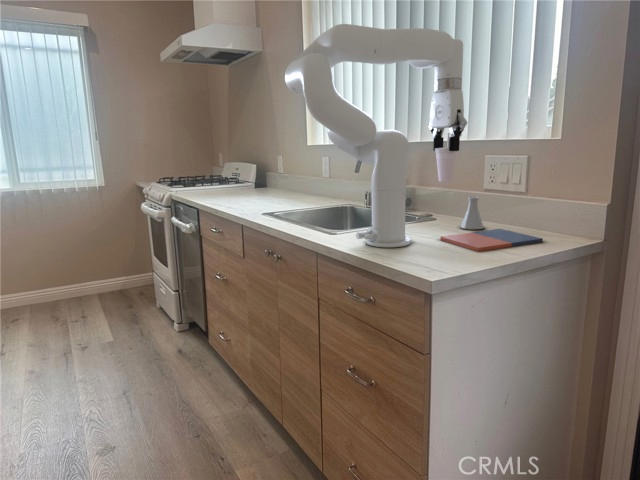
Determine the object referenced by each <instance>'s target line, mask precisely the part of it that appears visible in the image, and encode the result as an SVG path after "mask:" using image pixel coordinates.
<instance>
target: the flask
mask: <svg viewBox="0 0 640 480" xmlns="http://www.w3.org/2000/svg"><path fill="white" fill-rule="evenodd" d="M467 199H468V206H467V210H466V212H465V214H464V217H463V220H462V222H461V225H460V228H462V229H463V230H482V229H484V223H483V221H482V217H481V214H480V211H479V207H478V200H479V197H478V196H468V197H467Z"/></svg>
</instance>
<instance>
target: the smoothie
mask: <svg viewBox="0 0 640 480" xmlns="http://www.w3.org/2000/svg"><path fill="white" fill-rule="evenodd" d="M450 135H451V133H450V132H447V138H446V139H447V140H446V147H443V148H436V149H435V151H434V153H435V158H436V167H437V179H438V182H440V183H451V182H452V181H453V176H454V175H453V174H454V169H455V162H456V155H457V152H458V151H449V138H450Z"/></svg>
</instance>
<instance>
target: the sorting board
mask: <svg viewBox="0 0 640 480" xmlns="http://www.w3.org/2000/svg"><path fill="white" fill-rule="evenodd" d="M440 241H443V242H446V243H449V244H452V245H456V246H460V247H462V248H466V249H468V250H472V251H476V252H485V251H493V250H499V249H504V248H511V247H518V246H524V245H532V244H537V243H543V241H544V238H543V237H539V236H534V235H529V234H525V233H521V232H516V231H511V230H508V229H503V228H494V229H488V230H480V231H479V230H478V231H472V232H465V233H456V234H449V235H441V236H440Z"/></svg>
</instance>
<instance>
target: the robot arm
mask: <svg viewBox="0 0 640 480" xmlns="http://www.w3.org/2000/svg"><path fill="white" fill-rule="evenodd" d="M342 62H348V63H349V62H350V63H360V64H372V65H378V66H379V65H381V66H383V65H391V64H396V63H397V64H398V63H401V62H407V63H408V64H409V65H410V66H411V67H412V68H414V69H428V68H429V69H430V68H434V91H433V93H432V96H431V101H430V109H429V110H430V111H429V123H428V128H429V130H430V133H431V134H432V135H431V136H432V138H433V145H432V146H433V147H432V150H433V152H435V149H436V148H444V136H443V134H444V131H445V129H447V128H449V133H450V136H449V151H457V152H459V151H460V139H461V137H462V134H463V132H464V129H465V128H466V126H467V125H468V121H467V119H466V118H465V117H464V116H465V105H464V103H465V102H464V93H463V89H462V88H463V65H464V42H463V41H462V40H461V39H459V38H453V36H452V35H451V34H449V33H448V32H447V31H443V30H439V29H431V28H417V27H416V28H413V27H412V28H379V27H371V26H364V25H357V24H349V23H339V24H336V25H333V26H331V27H330V28H328V29H327V30H325V31H324V32H322V33H321V34H320V35H318V36H317V37H316V38H315V39H314V40H313V41H312V42H311V43H310V44H309V45H308V46H307V47H306V48H305V49H304V50H303V51H302V52H301V53H300V54H299V55H297V56H296V58H294V59H293V60H292V61H291V62H290V63H289V65H288V66H287V68H286V69H285V71H284V72H285V73H284V81H285V85H286V87H287V88H288V89H289V90H290V92H292V93H294V94H296V95H303V97H304V101H305V104H306V107H307V109H308V112H309V114H310V115H311V116H312V118H313V119H315V121H316V122H318V124H321V125H322V126H323V127H325V128H326V132H327V136H328V138H329V140H330V142H331V143H332V144H333V145H334V146H335V147H337V148H339V149H340V150H341V151H343V152H344V153H346V154H348V155H350V156H352V157H353V158H354V159H356V160H358V161H360V162H362V163H364V164H367V165H373V166H374V167H373V170H372V173H371V178H370V179H371V180H370V182H371V183H370V186H371V187H370V188H371V189H370V190H371V191H370V193H371V195H370V196H371V226H370V227H368V229H367V230H366V231H358V232H356V233H355V237H356V239H357V240H362V239H364V240H366V244H367V245H369V246H372V247H377V248H400V247H407V246H408V245H410V244H411V243H412V240H411V239H412V238H410V237H409V236H407V235H406V192H407V191H406V189H407V188H406V186H407V185H406V181H407V167H408V161H409V156H410V143H409V140H408V138H407V136H406V135H405V134H404V133H403V132H401V131H400V130H396V129H381V130H378V127H377V123H376V121H375V119H373V117H372V116H371V115H370V114H369V113H367V112H365V111H364V110H362V109H360V107H357V106H356V105H355V104H353V103H352V102H350V101H348V100H347V99H345V98H344V97H343V96H342V95H341V94H340V93H339V92H338V91H337V89H336V86H335V83H334V75H333V68H334V67H335V66H337V65H338V64H340V63H342Z"/></svg>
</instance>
